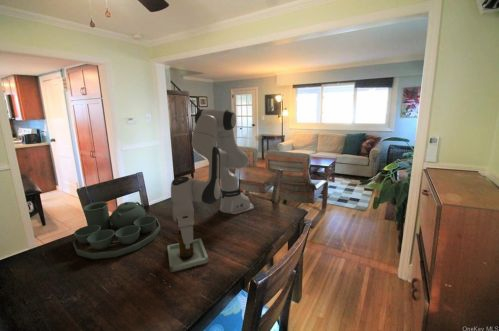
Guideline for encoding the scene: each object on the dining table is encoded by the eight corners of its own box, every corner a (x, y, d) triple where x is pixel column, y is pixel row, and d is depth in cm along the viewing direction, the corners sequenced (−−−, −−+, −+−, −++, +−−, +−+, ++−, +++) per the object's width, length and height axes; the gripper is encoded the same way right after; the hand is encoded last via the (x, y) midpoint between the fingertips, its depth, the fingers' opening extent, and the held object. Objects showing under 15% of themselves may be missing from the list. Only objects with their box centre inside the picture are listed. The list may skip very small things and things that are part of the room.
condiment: (191, 248, 112) (189, 225, 109) (199, 256, 105) (197, 232, 103) (176, 254, 108) (173, 230, 105) (183, 263, 101) (181, 238, 98)
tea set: (59, 267, 101) (51, 233, 97) (91, 225, 138) (86, 198, 135) (157, 251, 112) (153, 219, 108) (163, 215, 149) (160, 191, 145)
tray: (200, 241, 119) (200, 238, 118) (209, 262, 102) (208, 258, 102) (167, 249, 113) (167, 245, 112) (170, 272, 96) (170, 268, 96)
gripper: (173, 206, 111) (176, 233, 114) (178, 225, 92) (181, 256, 96) (187, 204, 113) (189, 230, 116) (194, 222, 95) (197, 252, 98)
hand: (186, 242), depth 106 cm, fingers open, 8 cm apart
